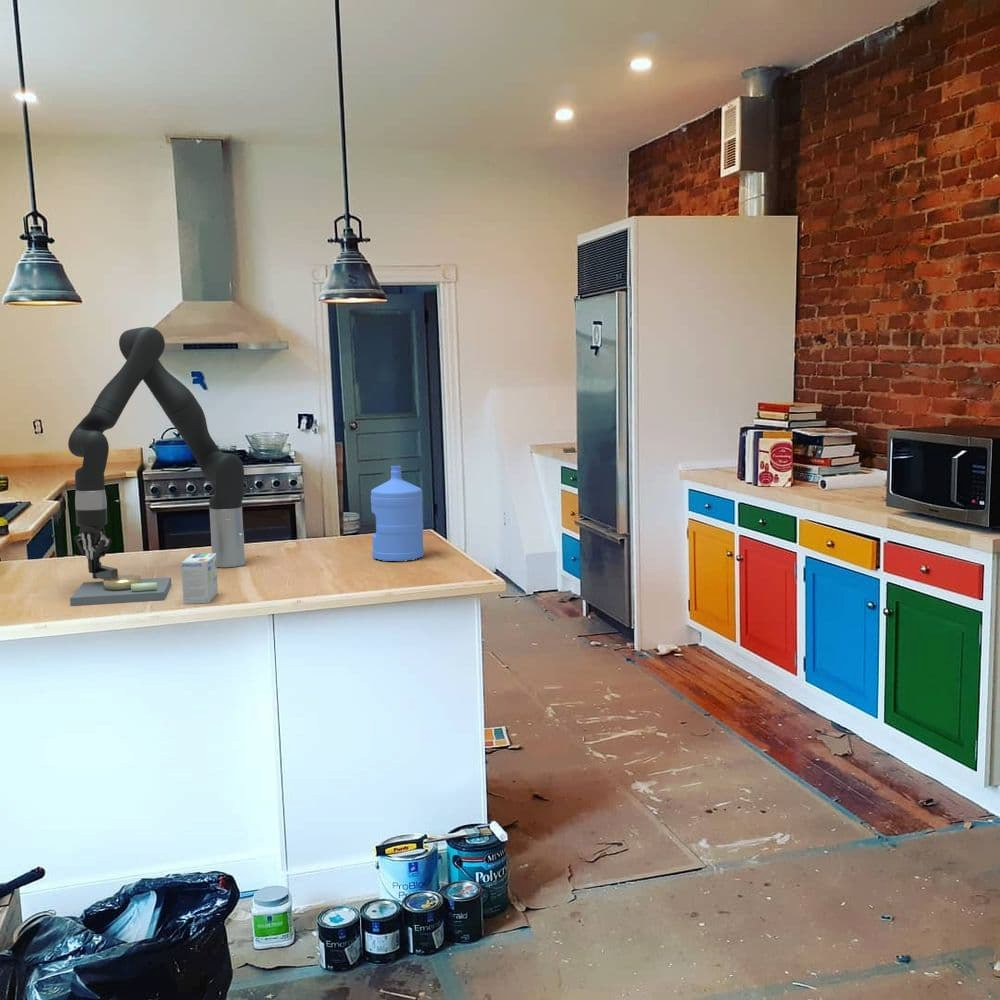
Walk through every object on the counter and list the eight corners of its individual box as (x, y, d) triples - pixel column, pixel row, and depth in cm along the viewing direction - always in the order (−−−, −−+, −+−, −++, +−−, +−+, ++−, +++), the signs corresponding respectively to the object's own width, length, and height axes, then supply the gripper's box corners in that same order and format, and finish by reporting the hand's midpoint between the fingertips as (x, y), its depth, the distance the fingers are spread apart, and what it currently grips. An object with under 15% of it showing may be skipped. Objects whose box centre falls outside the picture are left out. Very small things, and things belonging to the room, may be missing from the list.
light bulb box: (192, 594, 250) (190, 553, 248) (219, 593, 250) (216, 552, 249) (182, 604, 239) (180, 561, 238) (210, 603, 240) (207, 560, 238)
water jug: (434, 555, 297) (432, 464, 293) (402, 564, 284) (400, 469, 280) (394, 550, 305) (391, 462, 302) (361, 559, 292) (358, 467, 288)
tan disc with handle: (148, 585, 250) (147, 567, 250) (116, 591, 243) (115, 573, 243) (110, 576, 261) (109, 559, 260) (79, 582, 254) (77, 565, 253)
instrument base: (171, 584, 261) (170, 570, 260) (164, 599, 244) (163, 584, 243) (84, 589, 256) (83, 575, 256) (70, 605, 239) (69, 590, 238)
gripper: (119, 507, 251) (122, 573, 253) (88, 504, 258) (91, 568, 260) (94, 510, 245) (97, 577, 247) (62, 506, 252) (66, 572, 254)
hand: (94, 572), depth 253 cm, fingers closed
